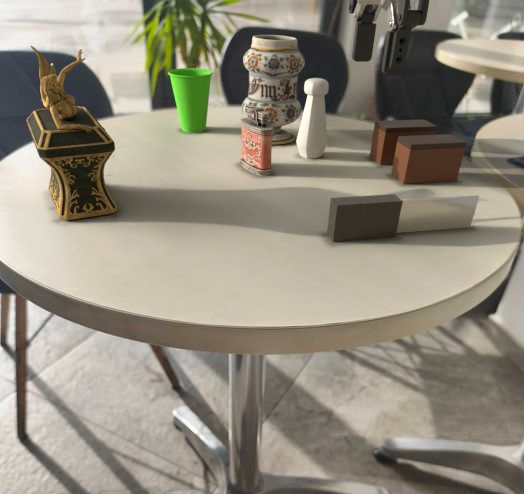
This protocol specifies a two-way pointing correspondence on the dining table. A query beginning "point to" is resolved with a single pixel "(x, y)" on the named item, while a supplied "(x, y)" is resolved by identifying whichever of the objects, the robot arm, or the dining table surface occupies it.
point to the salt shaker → (313, 120)
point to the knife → (396, 215)
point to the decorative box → (71, 148)
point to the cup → (191, 97)
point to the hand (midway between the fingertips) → (375, 67)
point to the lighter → (256, 141)
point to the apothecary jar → (274, 81)
